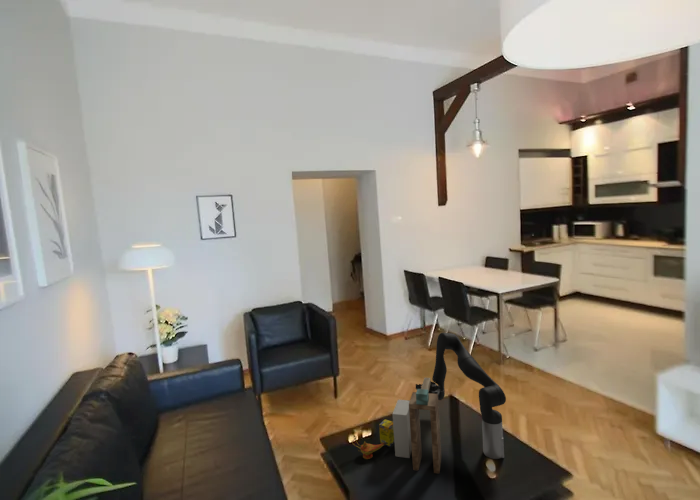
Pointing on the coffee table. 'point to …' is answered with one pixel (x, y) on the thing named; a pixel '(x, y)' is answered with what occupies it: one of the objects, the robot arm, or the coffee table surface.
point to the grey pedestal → (402, 429)
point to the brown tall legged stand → (416, 433)
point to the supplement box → (386, 432)
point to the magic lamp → (368, 448)
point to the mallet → (423, 393)
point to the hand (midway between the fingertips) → (427, 386)
